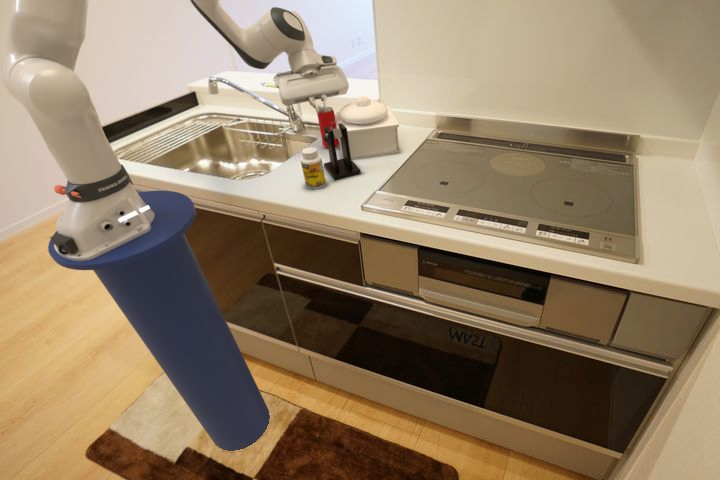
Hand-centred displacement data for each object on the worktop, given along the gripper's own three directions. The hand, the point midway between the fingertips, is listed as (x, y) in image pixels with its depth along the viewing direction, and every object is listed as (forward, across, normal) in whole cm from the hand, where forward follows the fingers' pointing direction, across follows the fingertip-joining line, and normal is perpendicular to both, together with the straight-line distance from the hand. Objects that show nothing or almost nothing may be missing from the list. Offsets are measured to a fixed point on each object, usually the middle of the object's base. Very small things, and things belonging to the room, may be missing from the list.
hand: (322, 111), depth 120 cm
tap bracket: (+18, 0, +2) cm, 18 cm away
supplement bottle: (+21, -9, -2) cm, 23 cm away
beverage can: (+5, +3, +15) cm, 16 cm away
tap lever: (+10, 0, -1) cm, 10 cm away
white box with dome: (+9, +13, +10) cm, 19 cm away
